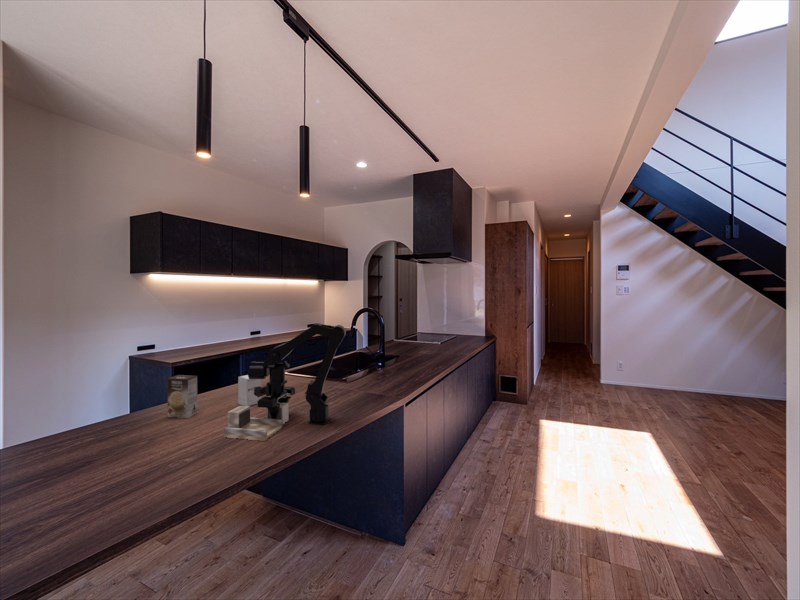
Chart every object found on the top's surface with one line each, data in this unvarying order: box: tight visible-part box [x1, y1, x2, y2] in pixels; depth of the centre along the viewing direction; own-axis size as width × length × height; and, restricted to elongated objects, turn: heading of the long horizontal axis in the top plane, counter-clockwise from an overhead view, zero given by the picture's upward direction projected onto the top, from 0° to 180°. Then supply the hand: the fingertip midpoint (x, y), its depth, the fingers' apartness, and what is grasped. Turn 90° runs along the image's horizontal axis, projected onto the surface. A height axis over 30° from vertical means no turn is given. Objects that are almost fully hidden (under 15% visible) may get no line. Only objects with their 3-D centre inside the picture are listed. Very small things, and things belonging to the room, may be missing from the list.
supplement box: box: [237, 374, 262, 407], centre depth 159 cm, size 7×7×13 cm
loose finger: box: [266, 402, 290, 425], centre depth 137 cm, size 5×7×7 cm, turn 80°
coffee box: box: [167, 374, 198, 419], centre depth 143 cm, size 9×6×16 cm
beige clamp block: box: [223, 405, 283, 442], centre depth 127 cm, size 16×12×8 cm
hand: (277, 418), depth 137 cm, fingers closed on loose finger, 5 cm apart
